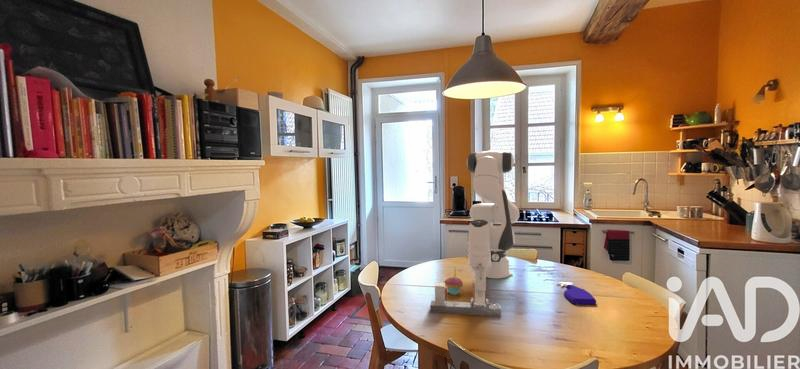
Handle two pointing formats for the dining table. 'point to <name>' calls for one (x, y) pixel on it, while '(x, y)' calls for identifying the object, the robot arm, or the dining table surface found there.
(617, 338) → the dining table surface
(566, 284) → the purple flat bottle
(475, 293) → the finger block
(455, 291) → the cupcake
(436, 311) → the rail
